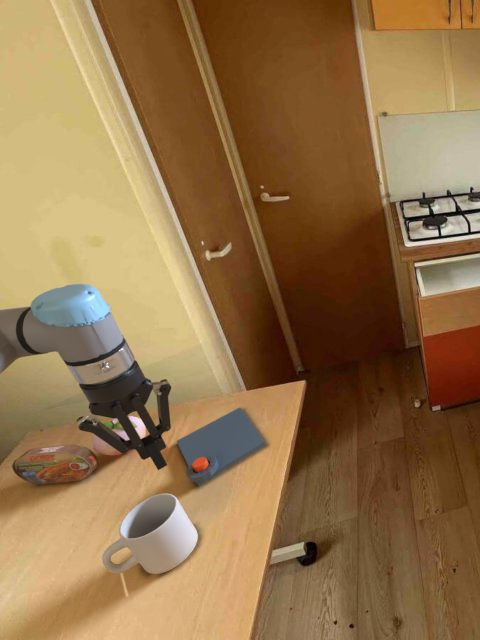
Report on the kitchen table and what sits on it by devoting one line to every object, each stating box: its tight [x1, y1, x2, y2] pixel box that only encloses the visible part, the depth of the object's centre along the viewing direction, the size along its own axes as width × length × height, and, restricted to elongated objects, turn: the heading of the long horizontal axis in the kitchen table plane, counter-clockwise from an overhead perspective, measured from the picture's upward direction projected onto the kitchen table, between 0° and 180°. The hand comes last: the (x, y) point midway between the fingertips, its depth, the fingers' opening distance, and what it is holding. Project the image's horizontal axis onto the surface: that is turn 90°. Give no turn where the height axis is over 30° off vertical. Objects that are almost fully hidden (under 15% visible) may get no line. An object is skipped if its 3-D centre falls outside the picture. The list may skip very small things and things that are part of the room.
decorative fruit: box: [92, 415, 147, 456], centre depth 98 cm, size 9×8×10 cm
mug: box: [101, 493, 199, 575], centre depth 77 cm, size 12×8×11 cm
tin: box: [11, 444, 99, 485], centre depth 92 cm, size 15×3×8 cm, turn 95°
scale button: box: [192, 457, 209, 473], centre depth 93 cm, size 3×3×2 cm
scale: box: [176, 406, 267, 487], centre depth 100 cm, size 15×17×3 cm
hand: (160, 463), depth 81 cm, fingers closed
